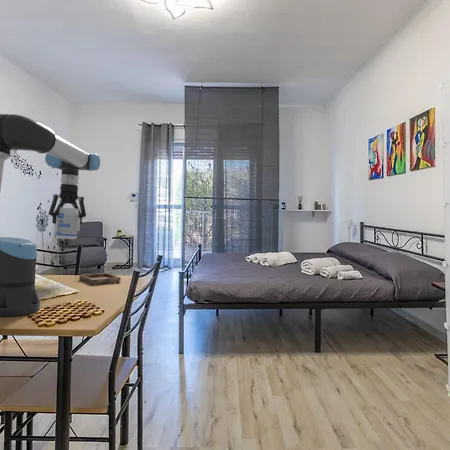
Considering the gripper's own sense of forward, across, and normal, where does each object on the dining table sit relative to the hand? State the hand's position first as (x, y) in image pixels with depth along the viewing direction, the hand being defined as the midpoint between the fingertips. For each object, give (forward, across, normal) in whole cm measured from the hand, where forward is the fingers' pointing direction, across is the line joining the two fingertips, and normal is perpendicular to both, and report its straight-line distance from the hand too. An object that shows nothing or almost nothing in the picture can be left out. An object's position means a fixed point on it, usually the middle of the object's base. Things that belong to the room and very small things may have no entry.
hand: (66, 230), depth 168 cm
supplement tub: (+4, 0, 0) cm, 4 cm away
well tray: (+23, +12, -12) cm, 29 cm away
